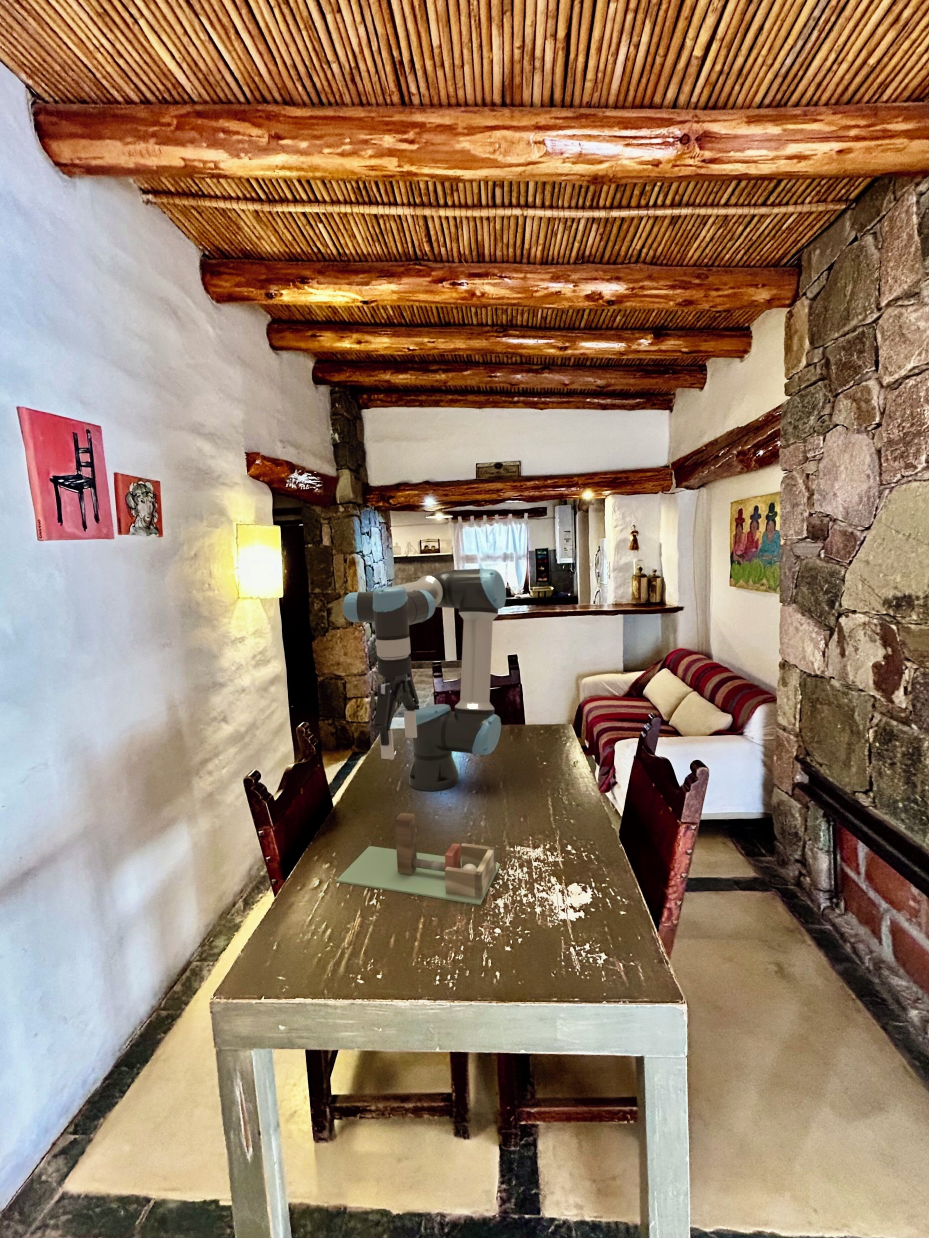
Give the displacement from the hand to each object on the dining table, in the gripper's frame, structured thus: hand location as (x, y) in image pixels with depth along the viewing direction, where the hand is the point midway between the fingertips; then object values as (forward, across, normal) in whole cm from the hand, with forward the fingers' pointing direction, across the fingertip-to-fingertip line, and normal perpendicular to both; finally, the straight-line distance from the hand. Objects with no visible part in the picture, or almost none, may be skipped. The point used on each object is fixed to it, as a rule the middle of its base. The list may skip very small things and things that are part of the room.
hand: (400, 747), depth 134 cm
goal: (+25, +10, +19) cm, 33 cm away
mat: (+25, +9, +7) cm, 27 cm away
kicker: (+24, +10, +9) cm, 27 cm away
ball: (+22, +10, +18) cm, 31 cm away
